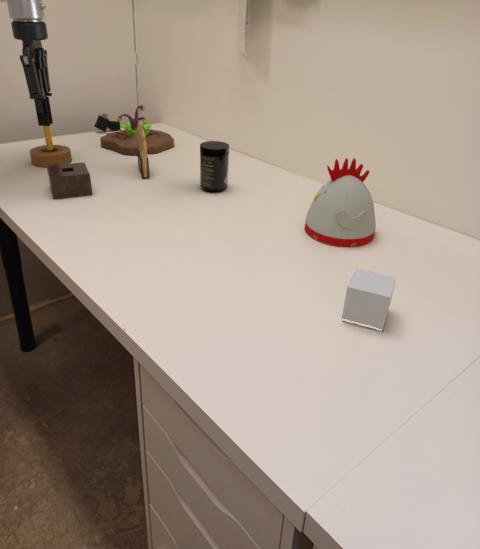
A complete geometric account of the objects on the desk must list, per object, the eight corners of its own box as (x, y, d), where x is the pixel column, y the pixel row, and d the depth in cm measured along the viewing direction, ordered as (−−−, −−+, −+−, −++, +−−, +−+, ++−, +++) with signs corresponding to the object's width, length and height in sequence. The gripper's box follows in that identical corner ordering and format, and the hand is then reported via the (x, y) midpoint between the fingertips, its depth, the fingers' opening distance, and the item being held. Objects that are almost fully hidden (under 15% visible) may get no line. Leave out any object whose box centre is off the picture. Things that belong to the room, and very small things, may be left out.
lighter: (113, 136, 157) (119, 122, 157) (116, 137, 156) (122, 123, 155) (92, 125, 151) (99, 110, 151) (95, 127, 150) (102, 112, 149)
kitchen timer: (298, 216, 101) (306, 147, 94) (361, 216, 103) (374, 148, 95) (313, 247, 90) (323, 170, 82) (383, 246, 91) (400, 171, 83)
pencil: (46, 150, 124) (35, 89, 116) (48, 148, 125) (37, 88, 118) (52, 150, 124) (42, 89, 116) (54, 148, 125) (44, 88, 118)
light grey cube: (388, 310, 73) (396, 277, 70) (382, 332, 68) (390, 297, 65) (349, 300, 75) (356, 267, 71) (340, 321, 70) (347, 286, 67)
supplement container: (225, 194, 111) (226, 150, 105) (197, 192, 111) (197, 148, 106) (230, 184, 117) (231, 142, 111) (203, 182, 117) (203, 140, 112)
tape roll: (26, 166, 122) (24, 155, 120) (38, 155, 130) (36, 144, 129) (66, 167, 122) (64, 156, 121) (75, 155, 131) (74, 145, 129)
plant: (186, 145, 143) (185, 107, 137) (133, 159, 130) (130, 117, 125) (143, 132, 154) (141, 96, 148) (91, 143, 141) (87, 104, 136)
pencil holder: (53, 199, 104) (49, 177, 102) (50, 186, 111) (46, 165, 108) (92, 195, 107) (89, 173, 105) (87, 182, 114) (84, 162, 111)
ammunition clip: (149, 178, 118) (146, 129, 112) (142, 178, 117) (138, 129, 111) (145, 164, 127) (142, 119, 121) (138, 165, 126) (135, 119, 120)
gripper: (35, 23, 103) (53, 132, 115) (53, 19, 116) (68, 118, 128) (-1, 21, 103) (21, 131, 115) (21, 17, 115) (39, 117, 127)
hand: (45, 124), depth 121 cm, fingers closed on pencil, 1 cm apart
